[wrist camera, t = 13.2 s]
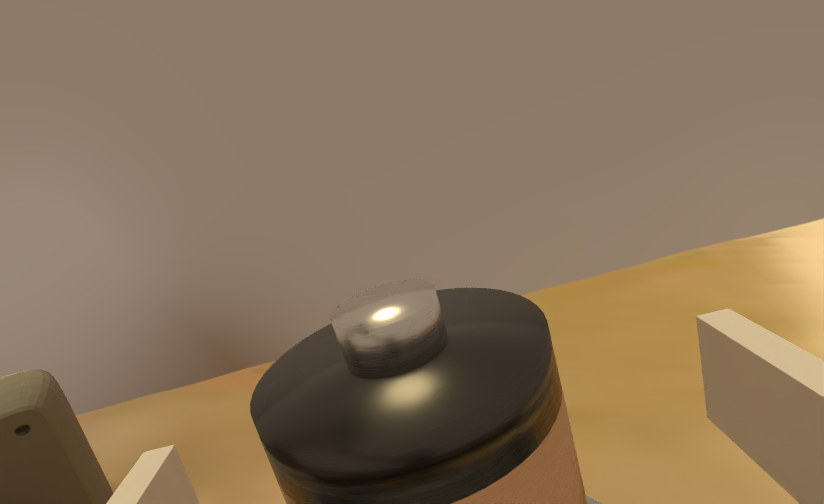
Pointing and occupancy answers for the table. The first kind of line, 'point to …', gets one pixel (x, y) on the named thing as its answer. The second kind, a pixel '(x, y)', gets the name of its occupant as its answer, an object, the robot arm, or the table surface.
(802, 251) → the table surface
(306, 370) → the cell
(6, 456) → the digital clock
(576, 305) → the table surface
